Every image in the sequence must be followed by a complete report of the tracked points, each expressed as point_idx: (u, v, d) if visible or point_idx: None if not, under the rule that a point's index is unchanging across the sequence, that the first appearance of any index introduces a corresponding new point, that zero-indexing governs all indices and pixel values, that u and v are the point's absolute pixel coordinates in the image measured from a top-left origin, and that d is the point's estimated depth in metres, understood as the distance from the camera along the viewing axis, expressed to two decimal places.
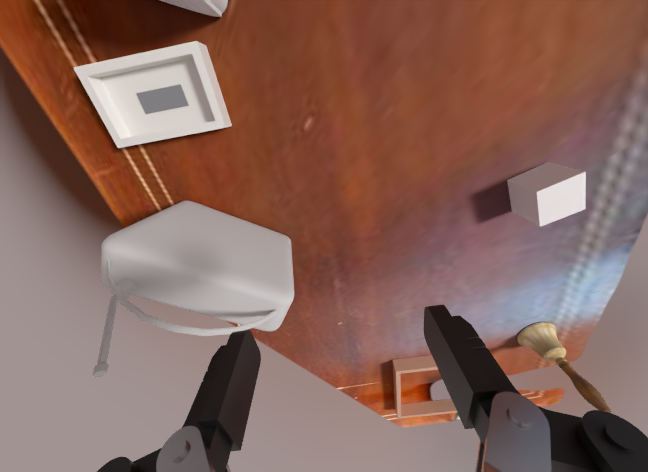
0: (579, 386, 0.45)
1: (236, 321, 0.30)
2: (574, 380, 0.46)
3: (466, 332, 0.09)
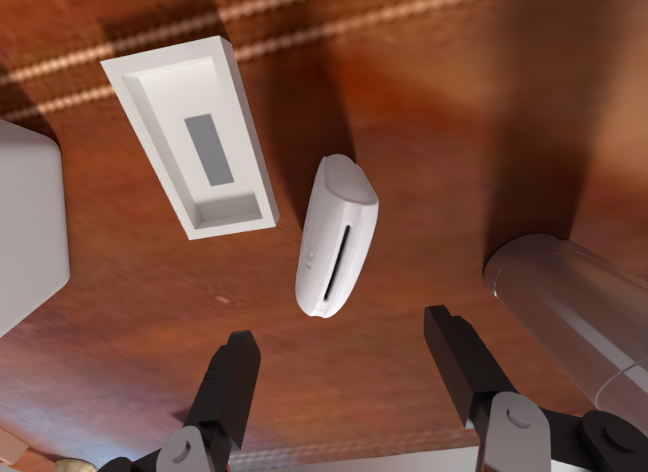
0: None
1: None
2: None
3: (466, 332, 0.09)
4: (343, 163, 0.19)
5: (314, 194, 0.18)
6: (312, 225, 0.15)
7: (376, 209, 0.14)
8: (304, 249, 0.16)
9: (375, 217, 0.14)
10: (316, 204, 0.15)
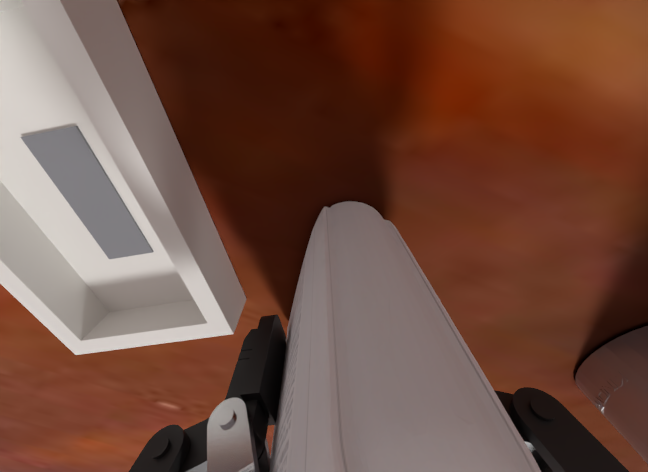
0: None
1: None
2: None
3: None
4: (371, 243, 0.08)
5: (301, 337, 0.07)
6: None
7: None
8: None
9: None
10: None
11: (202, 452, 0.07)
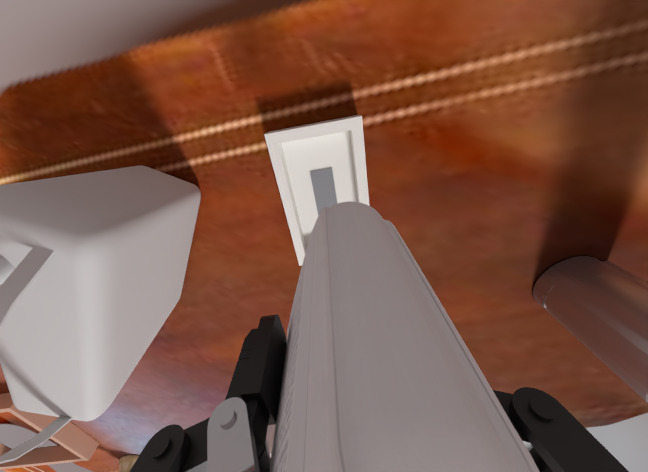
0: None
1: (11, 383, 0.18)
2: None
3: None
4: (370, 243, 0.08)
5: (301, 338, 0.07)
6: None
7: None
8: None
9: None
10: None
11: (202, 452, 0.07)
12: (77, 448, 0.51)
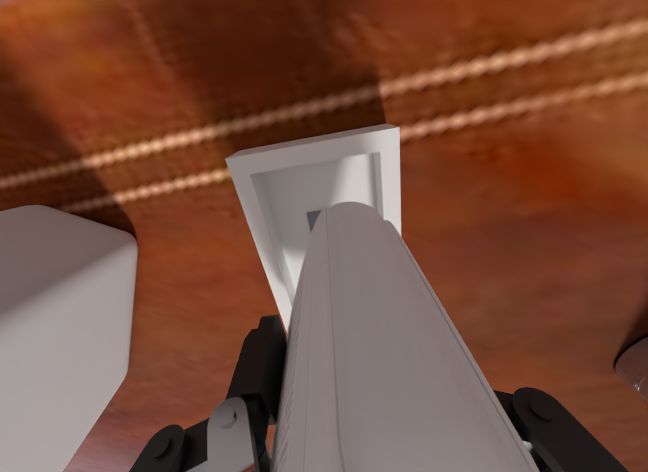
0: None
1: None
2: None
3: None
4: (370, 243, 0.08)
5: (301, 338, 0.07)
6: None
7: None
8: None
9: None
10: None
11: (203, 452, 0.07)
12: None
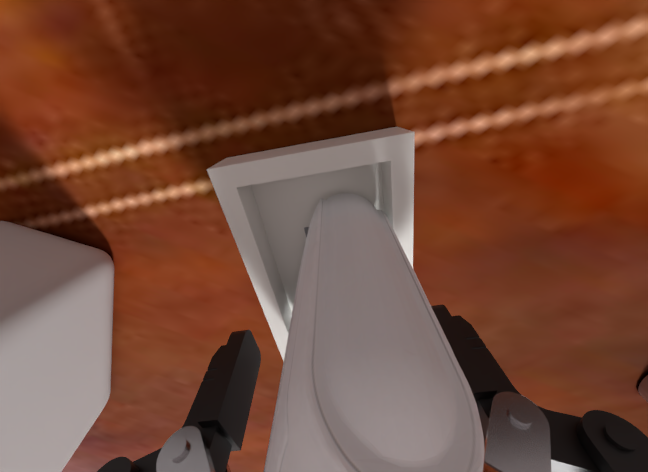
0: None
1: None
2: None
3: (466, 332, 0.09)
4: (357, 227, 0.09)
5: (296, 307, 0.08)
6: None
7: None
8: None
9: None
10: (282, 424, 0.05)
11: None
12: None
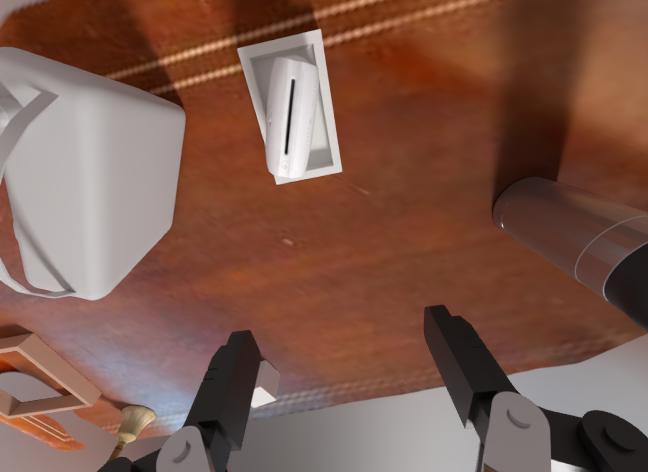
0: None
1: (24, 250, 0.22)
2: None
3: (466, 332, 0.09)
4: None
5: None
6: (269, 88, 0.20)
7: (315, 70, 0.19)
8: None
9: (315, 77, 0.19)
10: (271, 72, 0.20)
11: None
12: (81, 393, 0.54)
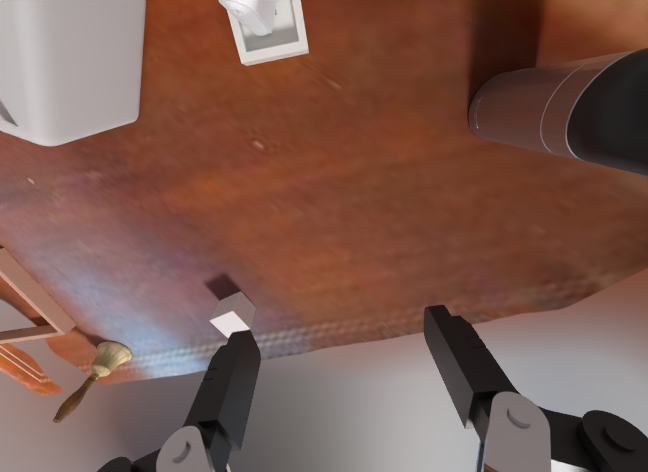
0: (73, 396, 0.52)
1: None
2: (77, 391, 0.53)
3: (466, 332, 0.09)
4: None
5: None
6: None
7: None
8: None
9: None
10: None
11: None
12: (53, 319, 0.54)
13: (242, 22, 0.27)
